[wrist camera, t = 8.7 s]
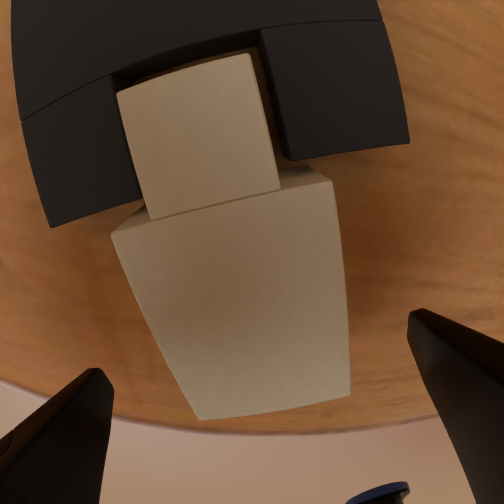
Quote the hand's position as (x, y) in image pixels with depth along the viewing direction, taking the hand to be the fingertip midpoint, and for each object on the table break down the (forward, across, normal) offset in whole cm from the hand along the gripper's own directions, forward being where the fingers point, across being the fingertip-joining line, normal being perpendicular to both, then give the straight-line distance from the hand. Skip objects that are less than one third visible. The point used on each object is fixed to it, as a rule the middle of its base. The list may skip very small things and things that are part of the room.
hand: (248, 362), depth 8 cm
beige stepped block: (+4, 0, -2) cm, 5 cm away
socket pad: (+4, 0, -18) cm, 19 cm away
